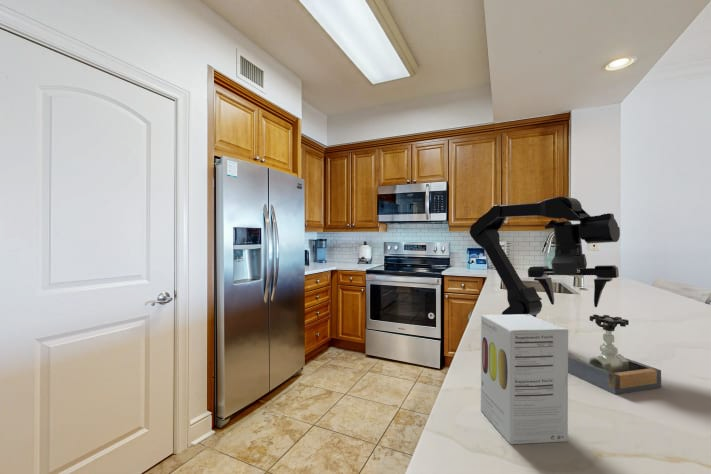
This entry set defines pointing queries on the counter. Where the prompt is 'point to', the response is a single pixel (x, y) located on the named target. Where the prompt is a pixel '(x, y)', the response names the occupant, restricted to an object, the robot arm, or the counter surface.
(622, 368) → the valve
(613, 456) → the counter surface
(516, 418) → the supplement box
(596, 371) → the grey wooden tray
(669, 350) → the counter surface
